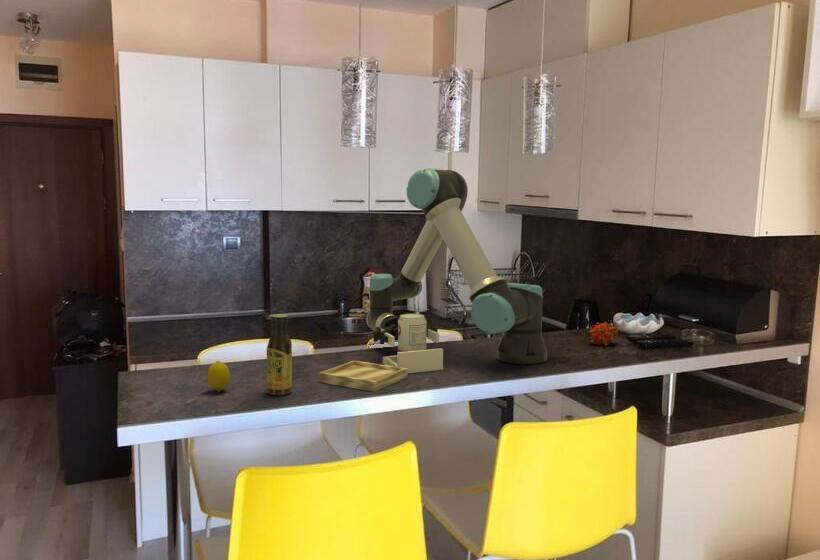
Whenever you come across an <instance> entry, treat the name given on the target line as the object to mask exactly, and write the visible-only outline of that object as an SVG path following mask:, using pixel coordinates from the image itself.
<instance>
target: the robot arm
mask: <svg viewBox="0 0 820 560" xmlns="http://www.w3.org/2000/svg"><path fill="white" fill-rule="evenodd" d="M468 190H469V189H468V183H467V181H466V179H465V178H464V176H462V175H461V174H460V173H459V172H457V171H455V170H452V169H434V168H422V169H419V170H416V171H415V172H414V173H413V174H412V175H410V178H409V180H408V182H407V186H406V197H407V200H408V202H409V204H410V205H411V206H412V207H415V208H416V209H418V210H419V209H420V210H421V211H422V213H423V215H424V217H425V218H426V222H425V223H424V226H423V228H422V229H421V232H420V234H419V235H418V238H417V239H416V242H415V244H414V245H413V248H412V250H411V252H410V253H409V255H408V257H407V259H406V261H405V263H404V266H403V267H402V269H401V271H400V272H399V274H398V277H393V276H392V274H390V273H374V274H371V275H370V277H369V286H368V290H369V311H368V313H367V315H366V319H365V320H366V324H367V326H368V328H370V329H371V331H373V338H372V339H373V342H374V343H376V342H379V344H380V345H385V344H387V345H388V346H391V347H395V346H396V345H395V342H396V341H398V320H399V318H400V316H397V315H394V314H393V308H394V307H393V302H395V301H400V300H401V301H402V300H405V299H406V300H407V299H412V298H414V297H418V296H419V295H420V294H421V293H422V290H423V282H422V279H423V278H424V276H425V274H426V272H427V270H428V268H429V267H430V264H431V263H432V260H433V259H434V257H435V255H436V254H437V252H438V250H439V248H440V246H441V244H442V242H443V241H444V243H445V245H446V247H447V249H448V251H449V252H450V255H451V257H452V258H453V260H454V261H455V263H456V265H457V267H458V268H459V271H460V273H461V274H462V277H463V278H464V280H465V282H466V284H467V285H468V288H469V289H470V294H469V297H468V299H469V300H470V302H471V306H470V309H471V310H470V316H471V319H472V322H473V323H474V324H475V326H476V327H477V328H479V330H481V331H482V332H484V333H487V334H494V335H495V334H501V338H500V341H499V344H498V347H497V349H496V358H497V359H496V360H499V361H501V362H503V363H508V364H514V365H515V364H516V365H534V364H535V365H536V364H542V363H544V362H547V361H548V352H547V348H546V345H545V342H544V338H543V334H542V333H543V332H542V331H543V329H542V328H543V327H542V325H543V299H544V296H543V289H542V286H540V285H537V284H526V283H513V282H507V280H506V279H505V278H504V277H501V276H498V275H497V274H496V272H495V270H494V268H493V266H492V264H491V262H490V261H489V259H488V257H487V255H486V254H485V252H484V250H483V248H482V246H481V245H480V243H479V242H478V239H477V238H476V235H475V234H474V232H473V230H472V229H471V226H470V225H469V223H468V222H467V219H466V218H465V216H464V214H463V212H462V211H463V210H464V207H465V205H466V202H467V199H468ZM439 337H440V333H439V332H438V328H437V327H433V326H426V338H427V339H428V340H430V341H432V342H434V343H436V344H438V343H440V338H439Z"/></svg>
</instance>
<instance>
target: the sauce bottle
mask: <svg viewBox="0 0 820 560" xmlns="http://www.w3.org/2000/svg"><path fill="white" fill-rule="evenodd" d="M270 321H271V334H270V337H269V340H268V342H267V347H266V391H267V394H268V395H271V396H278V397H280V396H285V395H288V394H290V393H291V392H292V385H293V384H292V383H293V353H292V351H293V350H292V348H293V346H292V345H293V344H292V340H291V339H292V338H290V336H289V334H288V322H289V316H288V314H284V313H279V314H278V313H277V314H273V315H271V320H270Z"/></svg>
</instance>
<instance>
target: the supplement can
mask: <svg viewBox="0 0 820 560" xmlns="http://www.w3.org/2000/svg"><path fill="white" fill-rule="evenodd" d="M426 327H427V319H426V317H425V315H424V314H420V313H404V314H400V315H399V320H398V340H397V352H407V351H418V350H427V337H426Z"/></svg>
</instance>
